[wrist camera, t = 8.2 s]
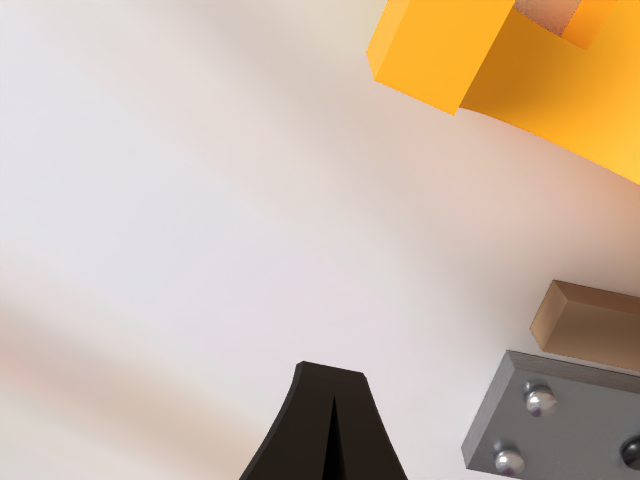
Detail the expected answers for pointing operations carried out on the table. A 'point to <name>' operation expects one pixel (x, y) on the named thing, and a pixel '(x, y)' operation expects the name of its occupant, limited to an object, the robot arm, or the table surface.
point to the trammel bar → (589, 325)
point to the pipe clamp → (522, 70)
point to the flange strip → (556, 422)
